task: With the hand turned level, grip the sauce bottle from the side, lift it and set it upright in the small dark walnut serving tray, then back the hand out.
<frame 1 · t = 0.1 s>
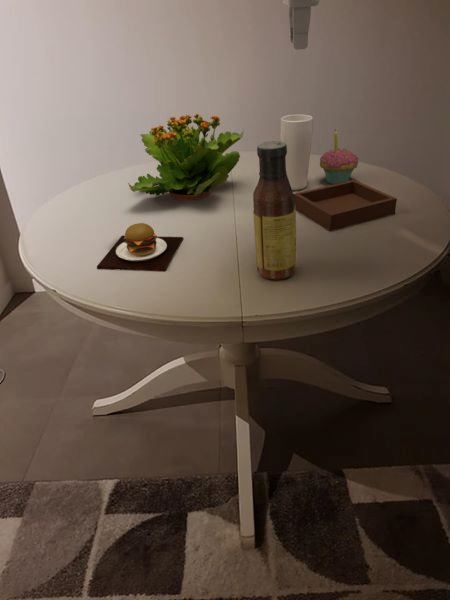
hand: (297, 45, 64), 31 cm above the table, tool pointing down, fingers open, 8 cm apart
cupcake: (337, 181, 108), on the table
drinking glass: (295, 187, 106), on the table
hamburger: (142, 254, 83), on the table
serving tray: (342, 210, 93), on the table
potted flower: (193, 192, 107), on the table
sauce bottle: (275, 272, 75), on the table
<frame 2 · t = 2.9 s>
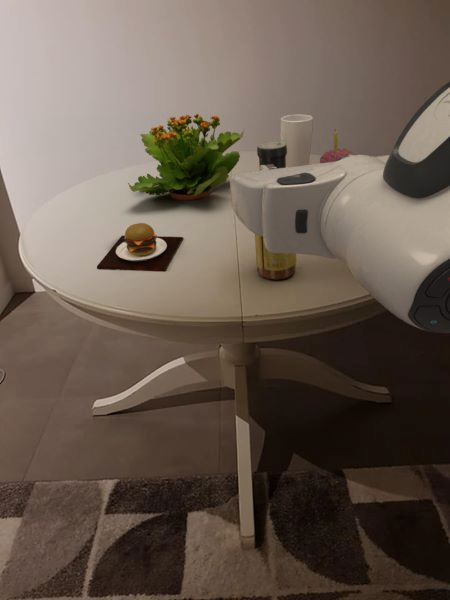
hand: (305, 166, 54), 20 cm above the table, tool horizontal, fingers open, 8 cm apart
nothing on the table moved.
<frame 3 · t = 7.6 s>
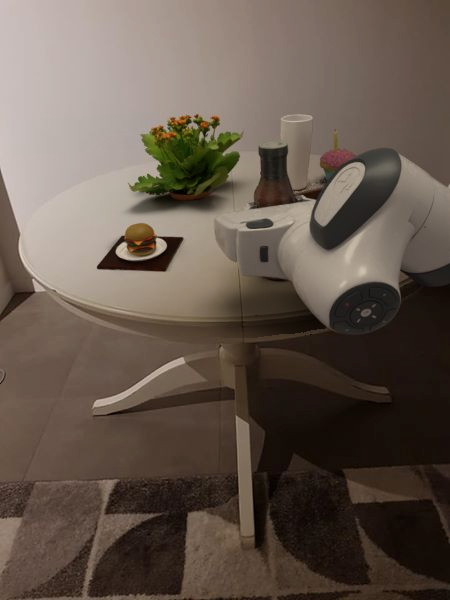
hand: (273, 203, 69), 11 cm above the table, tool horizontal, fingers closed on sauce bottle, 6 cm apart
sauce bottle: (275, 272, 75), on the table, touching gripper
everything else where it was.
when the fingers open (12 cm above the table, at t = 16.2 s): sauce bottle stays where it is, resting on serving tray.
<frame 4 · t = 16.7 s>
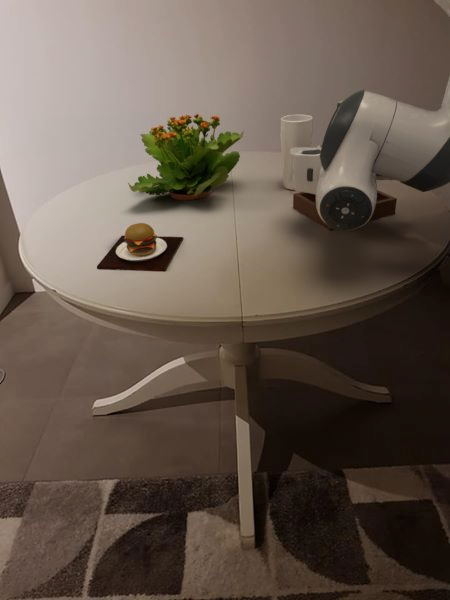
hand: (347, 149, 87), 12 cm above the table, tool horizontal, fingers open, 8 cm apart
sauce bottle: (342, 209, 93), resting on serving tray
everything else where it was.
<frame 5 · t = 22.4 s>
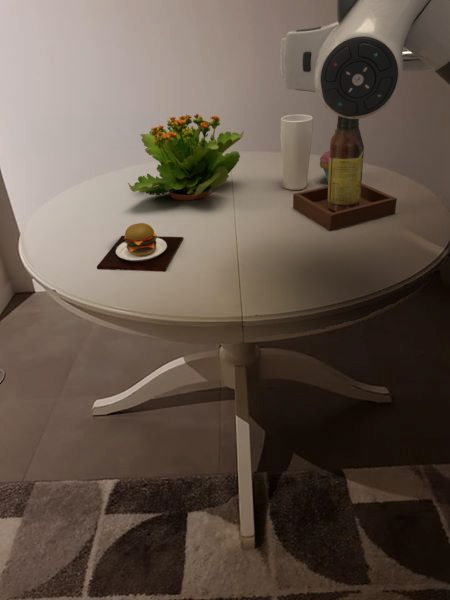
hand: (356, 47, 67), 30 cm above the table, tool horizontal, fingers open, 8 cm apart
nothing on the table moved.
at the end: sauce bottle inside the target area in the serving tray (0.1 cm from its centre), point 0.4 cm above the serving tray's base; sauce bottle tilted 0°; the gripper is holding nothing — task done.
